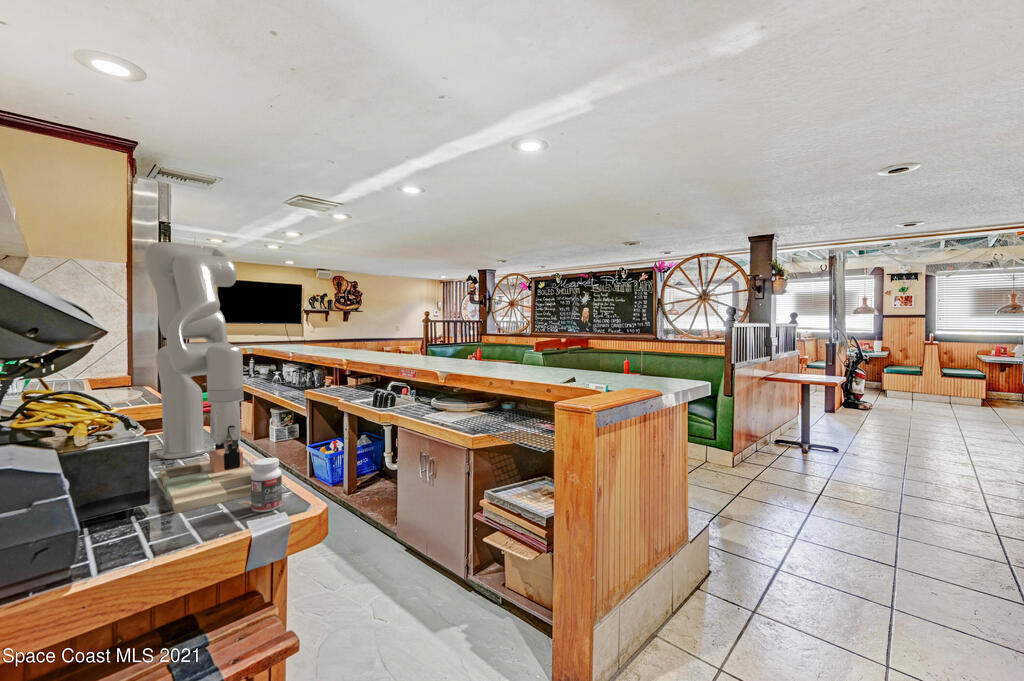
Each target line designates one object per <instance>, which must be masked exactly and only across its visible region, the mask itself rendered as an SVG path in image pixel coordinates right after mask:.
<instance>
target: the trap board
mask: <svg viewBox="0 0 1024 681" xmlns="http://www.w3.org/2000/svg"><path fill="white" fill-rule="evenodd" d="M253 472H255V469H254V468H252V466H250V465H249V464H248V463H247V461H245V460H244V459H243V468H238V469H233V470H228V471H223V472H218V473H214V471H213V470H212V469H211V468H210V460H206V461H200V462H195V463H194V462H193V463H188V464H183V465H177V466H172V467H166V468H161V469H159V472H158V473H159V479H160V481H162V482H161V484H162V483H163V484H162V486H163V488H165V489H164V491H165V490H166V491H165V493H166V496H167V495H168V496H167V498H168V500H169V502H170V505H171V507H172V509H173V511H174V514H180V513H183V512H184V513H185V512H187V511H192V510H196V509H200V508H201V509H202V508H205V507H208V506H213V505H218V504H221V503H226V502H230V501H234V500H238V498H239V499H243V498H247V497H249V496H250V497H251V475H252V473H253ZM242 497H243V498H242Z"/></svg>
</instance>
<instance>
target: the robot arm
mask: <svg viewBox="0 0 1024 681" xmlns="http://www.w3.org/2000/svg"><path fill="white" fill-rule="evenodd" d="M144 265H145V269H146V272H147V274H148V277H149V279H150V281H151V283H152V285H153V288H154V291H155V295H156V296H155V297H156V303H157V304H156V305H157V306H156V307H157V316H158V325H159V330H160V333H161V334H162V336H163V337H164V338H166V345H164V346H162V347H161V348H159V349H158V351H156V355H155V364H156V368H157V372H158V376H159V377H158V378H159V381H160V382H159V383H160V394H161V396H160V398H161V417H162V419H161V420H162V444H163V446H162V448H160V449H159V450H157V452H156V457H157V458H159V459H163V460H167V459H168V460H174V459H175V460H176V459H184V458H189V457H195V456H199V455H202V454H205V453H207V452H209V451H211V444H210V443H207V442H205V441H204V440H205V439H204V412H203V411H204V407H203V406H204V405H203V404H204V403H203V402H204V401H203V389H202V388H201V386H200V385H199V384H198V383H197V382H195V381H194V380H193V377H197V376H206V393H207V394H206V395H207V396H206V397H207V398H206V399H207V404H210V405H211V406H210V424H209V425H210V432H209V433H210V434H209V437H210V439H211V440H212V441H213V443H215V445H214V450H219V449H225V453H224V469H225V470H230V469H235V468H239V467H240V451H239V449H240V445H239V442H240V441H241V439H242V438H241V436H242V433H241V430H242V429H241V427H242V426H241V408H240V407H241V406H240V402H243V401H244V400H245V399H244V367H243V366H244V365H243V364H244V363H243V362H244V360H243V349H242V348H241V346H239V345H236V344H235V345H233V344H231V342H230V343H229V342H228V341H229V340H228V333H227V332H228V330H227V324H226V319H225V316H224V314H223V312H222V311H221V309H220V308H221V302H220V299H219V295H218V291H217V288H218V287H221V288H223V287H224V288H230V287H232V286H234V284H236V281H237V274H238V273H237V269H236V266H235V264H234V262H233V260H232V259H231V257H229V256H228V255H226V254H225V253H224V252H223V251H221V250H220V249H218V248H216V247H213V246H208V245H207V246H206V245H197V244H196V245H195V244H189V243H181V242H180V243H179V242H170V241H166V242H165V241H164V242H163V241H160V242H159V241H158V242H153V243H151V244H149V245H147V247H146V249H145V251H144ZM197 339H204V340H205V341H206V342H201V343H200V342H199V343H198V342H196V343H195V342H193V343H192V342H191V343H190V342H189V343H185V341H184V340H197Z"/></svg>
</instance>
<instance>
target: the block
mask: <svg viewBox="0 0 1024 681" xmlns="http://www.w3.org/2000/svg"><path fill="white" fill-rule="evenodd" d="M239 451H240V467H239V468H243V460H244V454H243V450H241V449H240V448H239ZM208 453H209V461H210V468H211V469H212V470H213V471H214V473H218V472H223V471H228V470H225V469H224V453H225V449H219V450H215V449H214V450H209V451H208ZM235 469H238V468H235ZM230 470H233V469H230Z"/></svg>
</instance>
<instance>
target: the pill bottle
mask: <svg viewBox="0 0 1024 681" xmlns="http://www.w3.org/2000/svg"><path fill="white" fill-rule="evenodd" d="M279 465H280V460H279V458H277V457H265V458H260V459H256V460H255V461H253V470H254V471H255V472H253V473H252V475H251V496H250V506H251V507H250V508H251V510H252V511H253V512H255V513H269V512H271V511H275V510H277V509H279V508H280V507H281V506H282V503H283V488H282V486H283V484H282V483H283V480H282V479H283V478H282V477H283V476H282V470H281V469H280V468H279Z"/></svg>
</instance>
